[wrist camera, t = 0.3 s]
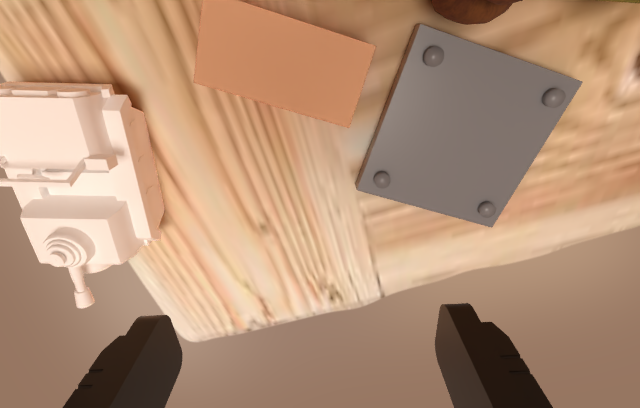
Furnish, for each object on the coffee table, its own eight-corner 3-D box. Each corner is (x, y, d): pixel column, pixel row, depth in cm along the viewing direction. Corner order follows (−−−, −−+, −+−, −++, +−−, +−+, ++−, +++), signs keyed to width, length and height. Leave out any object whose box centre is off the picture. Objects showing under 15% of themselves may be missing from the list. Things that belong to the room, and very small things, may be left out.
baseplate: (415, 24, 29) (423, 23, 27) (571, 80, 31) (589, 82, 29) (355, 184, 36) (357, 193, 34) (485, 220, 38) (495, 231, 36)
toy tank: (142, 81, 31) (73, 97, 22) (178, 254, 40) (139, 314, 31) (15, 78, 31) (-104, 93, 22) (80, 252, 40) (14, 312, 31)
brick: (225, -2, 28) (203, -12, 23) (366, 44, 30) (376, 45, 24) (215, 74, 31) (193, 82, 26) (344, 113, 33) (349, 128, 27)
